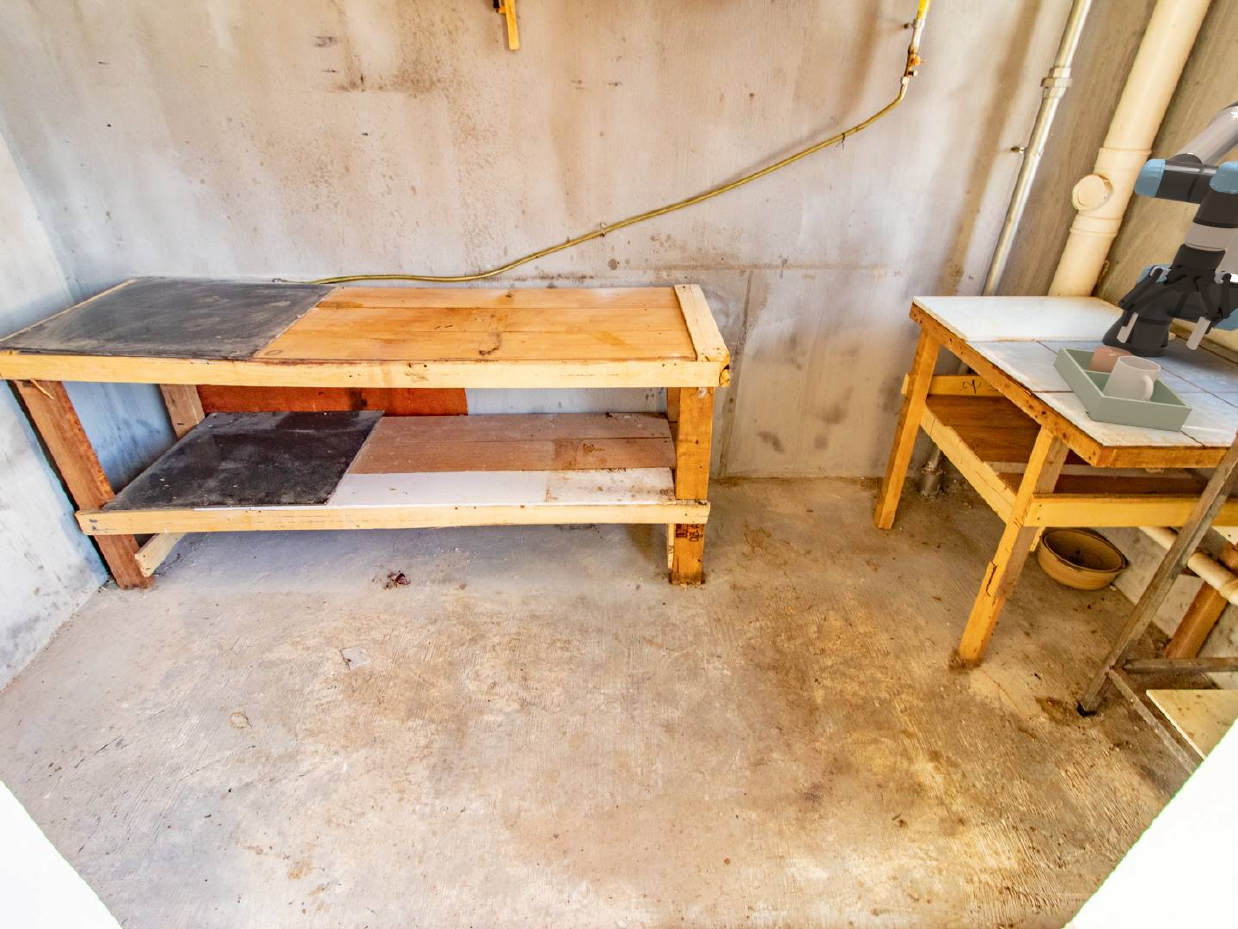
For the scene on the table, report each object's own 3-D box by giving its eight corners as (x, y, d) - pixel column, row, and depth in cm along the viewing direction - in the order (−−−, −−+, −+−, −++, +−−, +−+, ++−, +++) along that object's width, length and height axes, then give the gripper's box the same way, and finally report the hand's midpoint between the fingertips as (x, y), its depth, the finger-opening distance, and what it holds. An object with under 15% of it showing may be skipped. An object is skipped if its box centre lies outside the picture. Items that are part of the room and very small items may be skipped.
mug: (1156, 420, 147) (1179, 379, 141) (1117, 417, 148) (1138, 375, 142) (1128, 397, 157) (1148, 357, 151) (1092, 394, 158) (1111, 354, 152)
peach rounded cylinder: (1111, 377, 167) (1125, 348, 162) (1123, 389, 160) (1138, 359, 156) (1079, 373, 168) (1092, 344, 164) (1089, 385, 162) (1102, 355, 158)
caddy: (1126, 376, 169) (1136, 355, 166) (1179, 431, 144) (1192, 408, 141) (1052, 367, 173) (1060, 347, 170) (1091, 419, 148) (1102, 397, 145)
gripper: (1265, 246, 133) (1212, 343, 144) (1128, 236, 138) (1087, 331, 150) (1287, 256, 127) (1229, 357, 138) (1142, 245, 132) (1098, 343, 143)
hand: (1155, 343), depth 144 cm, fingers open, 13 cm apart
